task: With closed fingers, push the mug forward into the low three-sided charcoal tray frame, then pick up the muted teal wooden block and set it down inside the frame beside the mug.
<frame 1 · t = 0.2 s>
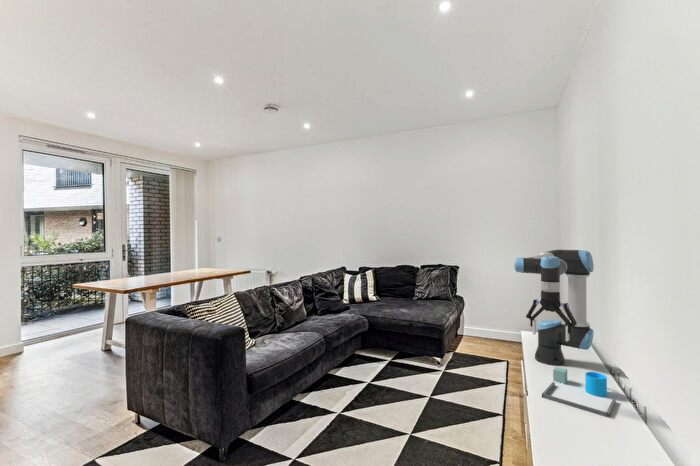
hand: (550, 337, 159), 28 cm above the table, fingers open, 13 cm apart
mug: (595, 391, 166), on the table
block: (560, 381, 176), on the table
tray frame: (578, 399, 157), on the table
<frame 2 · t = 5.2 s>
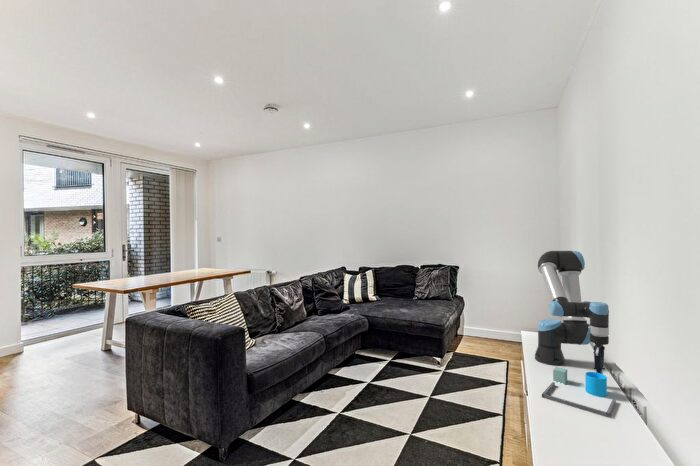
hand: (599, 382, 171), 1 cm above the table, fingers closed
mug: (595, 391, 166), on the table, touching gripper
everything else where it was.
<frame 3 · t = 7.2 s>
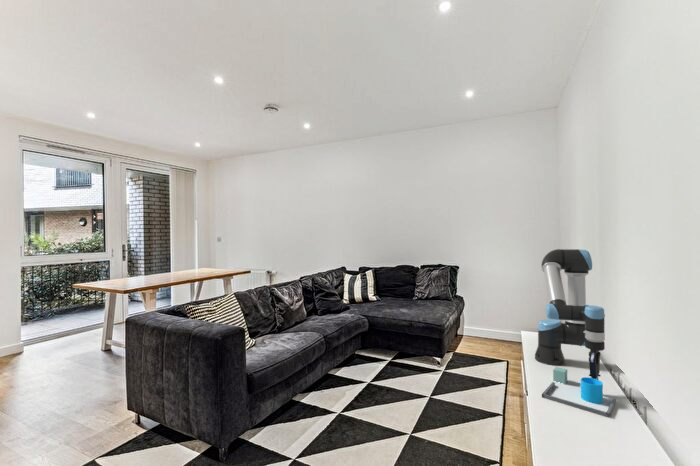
hand: (594, 390, 163), 2 cm above the table, fingers closed
mug: (590, 397, 160), on the table, touching gripper
everything else where it was.
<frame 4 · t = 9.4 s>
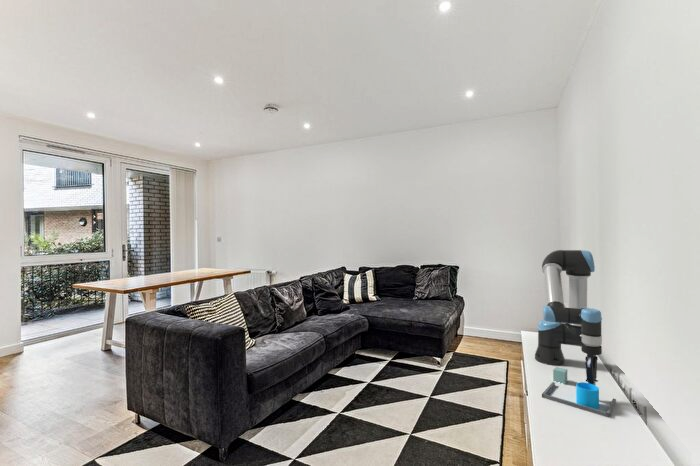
hand: (591, 395, 158), 2 cm above the table, fingers closed
mug: (587, 403, 154), on the table, touching gripper
everything else where it was.
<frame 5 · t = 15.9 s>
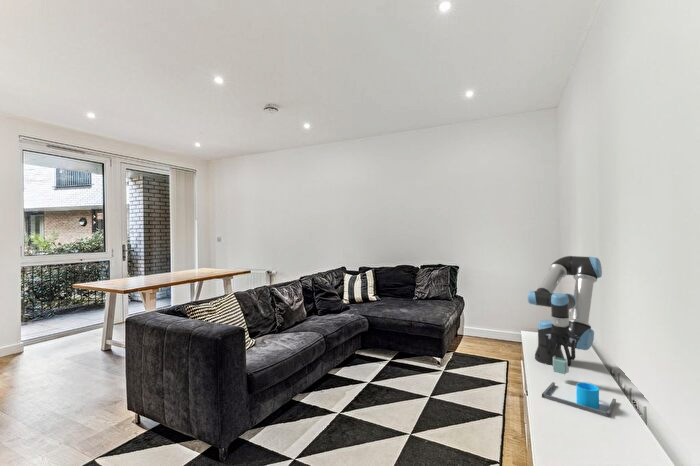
hand: (560, 370, 177), 5 cm above the table, fingers closed on block, 5 cm apart
mug: (587, 403, 154), on the table
block: (560, 371, 177), point 5 cm above the table, touching gripper
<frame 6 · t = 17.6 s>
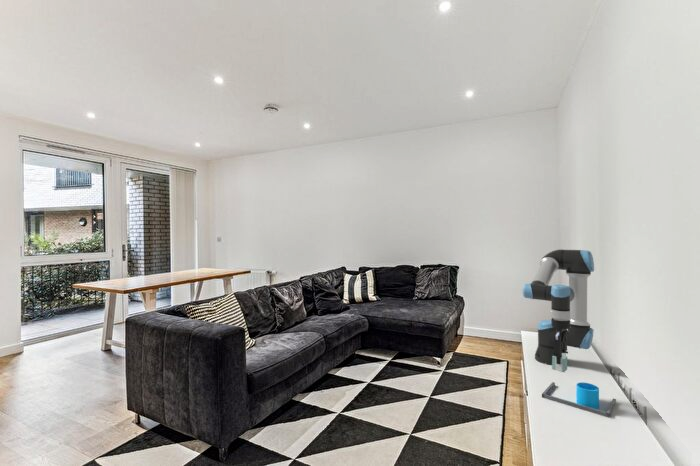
hand: (560, 368, 162), 12 cm above the table, fingers closed on block, 5 cm apart
block: (559, 369, 163), point 12 cm above the table, touching gripper
everything else where it was.
when the fingers open (2 cm above the table, at t = 19.6 s): block drops 1 cm, on the table.
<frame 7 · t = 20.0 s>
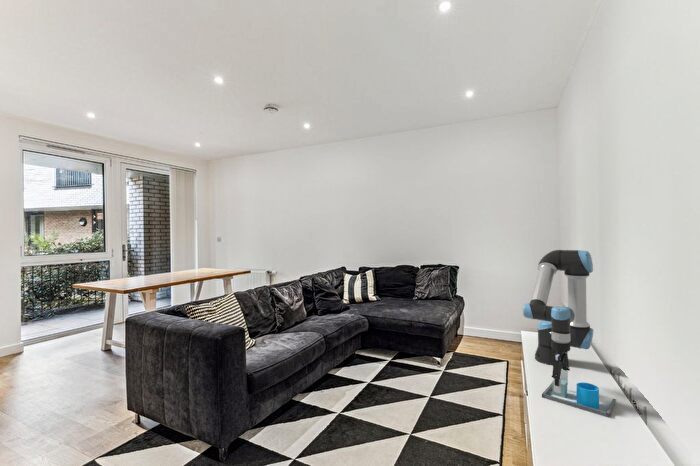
hand: (560, 388, 163), 3 cm above the table, fingers open, 11 cm apart
block: (559, 394, 163), on the table
everything else where it was.
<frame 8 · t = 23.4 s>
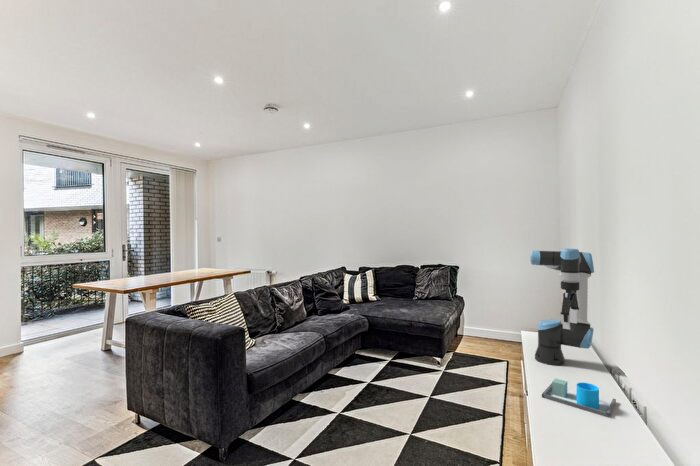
hand: (570, 325, 166), 31 cm above the table, fingers open, 13 cm apart
nothing on the table moved.
at the end: mug inside the target area (3.6 cm from its centre), on the table; mug tilted 0°; block inside the target area (7.4 cm from its centre), on the table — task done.
